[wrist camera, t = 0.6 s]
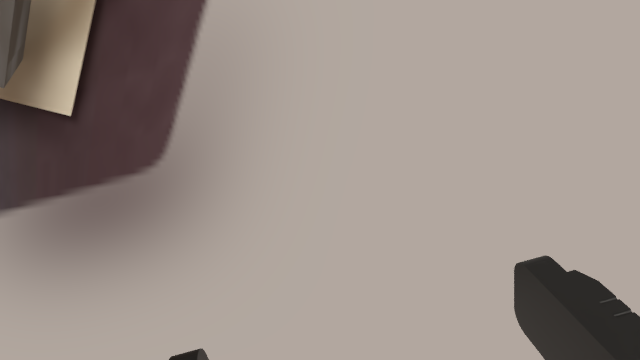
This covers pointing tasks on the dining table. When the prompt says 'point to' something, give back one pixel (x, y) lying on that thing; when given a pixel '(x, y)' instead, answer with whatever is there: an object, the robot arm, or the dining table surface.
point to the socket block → (43, 51)
